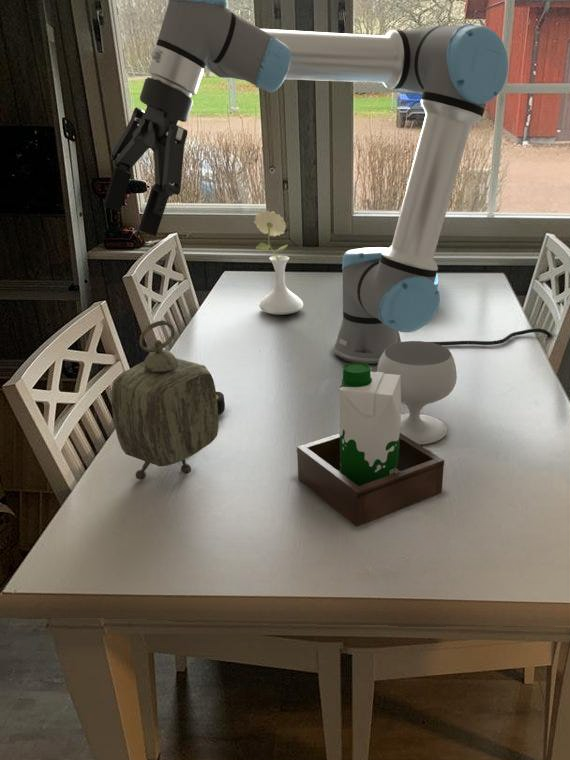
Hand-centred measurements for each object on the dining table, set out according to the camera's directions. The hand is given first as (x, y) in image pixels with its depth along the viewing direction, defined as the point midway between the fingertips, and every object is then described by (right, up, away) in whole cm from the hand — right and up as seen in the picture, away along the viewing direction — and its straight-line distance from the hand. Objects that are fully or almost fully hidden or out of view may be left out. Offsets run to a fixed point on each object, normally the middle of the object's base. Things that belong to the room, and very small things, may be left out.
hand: (128, 220), depth 118 cm
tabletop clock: (+8, -41, +1) cm, 41 cm away
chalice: (+47, -33, +14) cm, 60 cm away
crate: (+39, -43, -2) cm, 58 cm away
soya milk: (+39, -43, -2) cm, 58 cm away
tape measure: (+8, -30, +20) cm, 37 cm away
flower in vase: (+17, +2, +72) cm, 74 cm away
